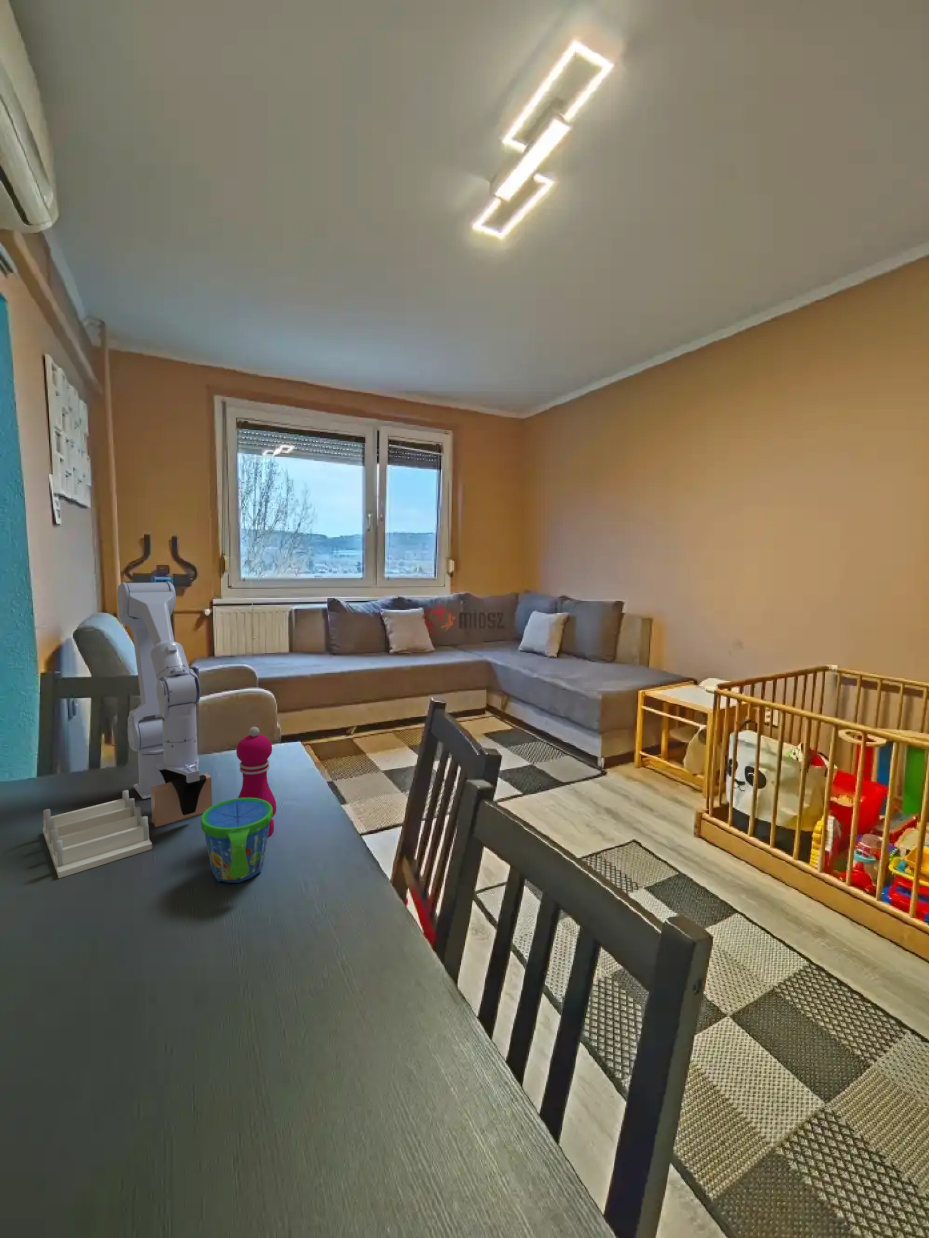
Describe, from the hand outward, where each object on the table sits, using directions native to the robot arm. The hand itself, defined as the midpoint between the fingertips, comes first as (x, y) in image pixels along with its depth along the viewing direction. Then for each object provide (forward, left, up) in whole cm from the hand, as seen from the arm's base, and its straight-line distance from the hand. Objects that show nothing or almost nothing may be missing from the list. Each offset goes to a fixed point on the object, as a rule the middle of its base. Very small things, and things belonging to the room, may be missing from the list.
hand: (182, 805), depth 105 cm
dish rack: (+14, 0, -2) cm, 14 cm away
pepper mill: (-8, +15, -2) cm, 17 cm away
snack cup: (-1, +25, -2) cm, 25 cm away
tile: (0, 0, -2) cm, 2 cm away
